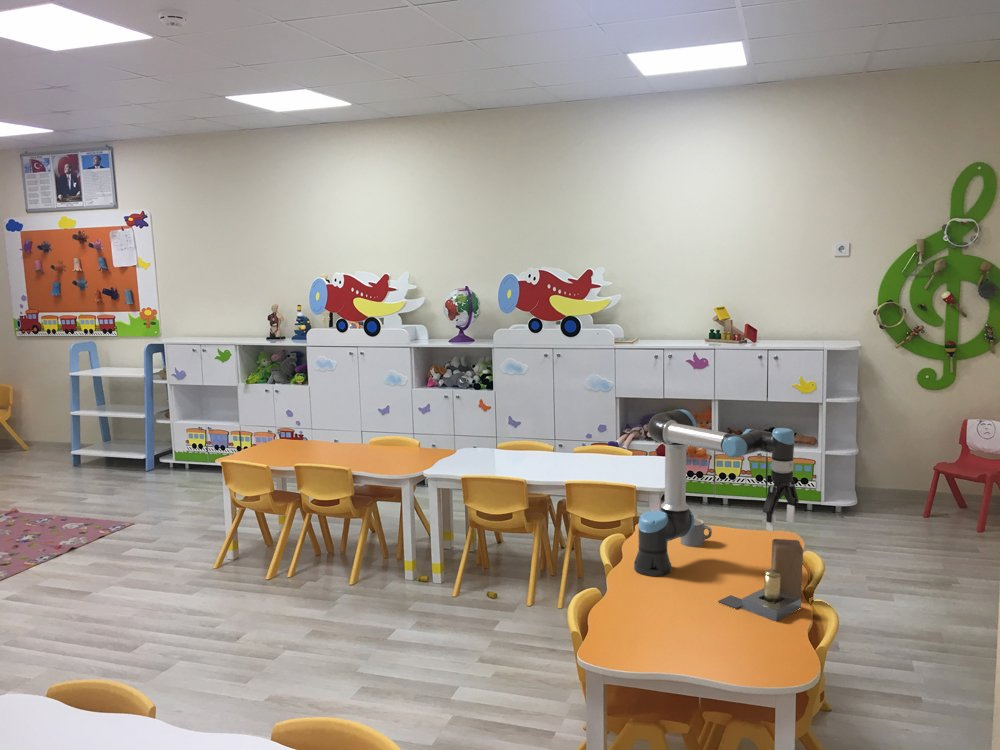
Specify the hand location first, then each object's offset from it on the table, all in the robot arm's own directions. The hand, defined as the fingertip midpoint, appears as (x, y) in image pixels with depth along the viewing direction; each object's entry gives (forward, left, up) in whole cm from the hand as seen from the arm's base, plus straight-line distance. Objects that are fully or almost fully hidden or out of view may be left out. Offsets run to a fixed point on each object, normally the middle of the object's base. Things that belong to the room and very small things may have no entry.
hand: (780, 526), depth 302 cm
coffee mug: (-56, +25, -28) cm, 68 cm away
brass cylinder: (+4, -10, -28) cm, 30 cm away
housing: (+4, -10, -28) cm, 30 cm away
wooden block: (0, +6, -28) cm, 29 cm away
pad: (-8, -16, -28) cm, 33 cm away
